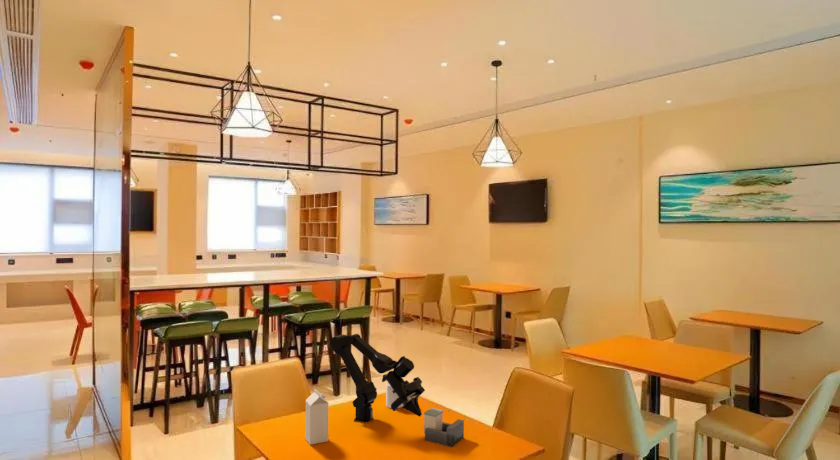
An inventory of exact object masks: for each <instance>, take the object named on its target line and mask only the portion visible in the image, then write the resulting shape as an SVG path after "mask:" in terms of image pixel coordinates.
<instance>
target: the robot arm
mask: <svg viewBox="0 0 840 460" xmlns="http://www.w3.org/2000/svg"><path fill="white" fill-rule="evenodd" d="M329 345H330V347H331V349H332V351H333V352H334V353H335V354H336V355H338V356H339V357H340V358H341V361H342V362H343V364H344V366H345V368H346V370H347V372H348V373H349V376H350V378H351V379H352V381H353V383H354V386H355V394H356V398H355V399H353V401H352V406H353V408H355V418H354V419H353V422H361V423H369V422H370V421H371V420H372V419H373V417H374V416H373V415H374V414H373V413H374V412H373V405H372V404H374V402H375V400H376V399H377V396H378V391H377V387H375V383H374V382H373V381H370V382H369V381H368V380H367V379H366V378H365V376H364V374H363V372H362V370H361V368H360V366H359V364H358V362H357V360H356V359H355V356H354V354H353V353H352V346H353V347H354V348H355V350H356V349H357V350H358V351H359V352H360V353H361V354H362V355H363V356H364V357H365V358H367V359H368V360H369V361H370V362H371V365H372V367H373V368H374V370H376V372H377V373H378V374H381V375H382V374H383V375H382V379H381V382H382V383H384V382H387V383H389V384H390V386H391V387H392V388H393V391H392V392H393V393H396V394H397V395H398V398H397V399H396V400H395V401H394V402H393V403H392V404H391V408H390V409H392V411H393V412H395V411H397V410H399V408H398V407H399V406H400V405H401V404H403V407H401V409H402V410H403V409H405V410H406V411H408V412H409V413H410V412H411V413H412V414H415V415H416V416H418V417H421V416H422V415H423V414H422V411H421V407H420V405H419V397H420V396H421V395H422V394H424V392H425V391H426V389H425V388H424V387H423V386H422V383H423V380H421V379H420V377H419V376H417V377H413V380H412V381H411V382H410V381H408V380H404V378H406V377H407V375H409V373H411V372H412V371H413V370H414V369H415V364H414V362H413V361H412V360H411V359H410V358H407V357H406V356H405V355H402V356H400V358H399V359H398V361H397V360H393V359H392V357H390V356H388V355H387V354H384V353H382V352H379V351H377V349H376V348H374V347H373V346H372V345H371V344H369V343H368V342H367V341H366V340H365V339H364V338H362V336H361V335H360V334H358V333H354V334H350V335H347V334H339V335H336V336H332V338H331V339H330V342H329Z"/></svg>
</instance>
